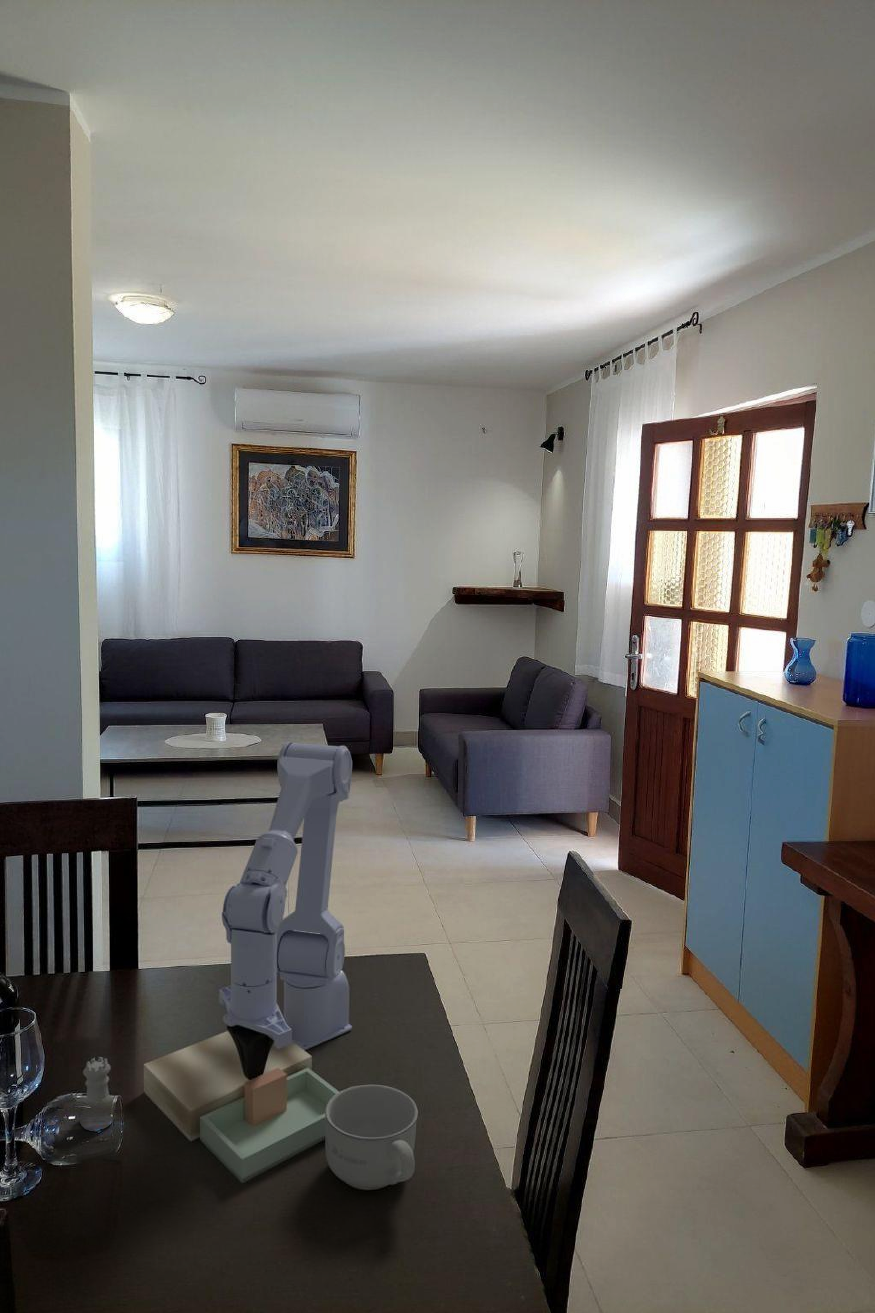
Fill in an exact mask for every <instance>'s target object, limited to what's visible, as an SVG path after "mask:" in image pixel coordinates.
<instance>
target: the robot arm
mask: <svg viewBox="0 0 875 1313" xmlns="http://www.w3.org/2000/svg"><path fill="white" fill-rule="evenodd" d="M276 766H277V767H276V769H277V776H278V783H279V786H280V790H279V795H278V798H277V802H276V805H275V808H274V812H273V816H272V819H271V821H270V825H269V829H268V831H267V832H264V833H262V834H260V835H259V836H258V837H257V839H256V840H255V844H254V846H253V847H252V848H253V849H252V850H251V853H250V855H249V858H248V860H247V863H246V866H245V868H244V870H243V873H242V875H241V878H240V880H239V882H238V883H236V885H232V886H231V887H230V888H229V889H228V890H227V892H226V894H225V897H224V901H223V906H222V912H221V921H222V926H224V928H225V932H226V933H225V934H226V938H225V939H226V941H227V943H229V944H230V985H228V986H225V987H223V988H220V989H218V1003H219V1004H220V1005H221V1006H225V1007H226V1010H227V1013H226V1014H224V1015H223V1017H222V1018H223V1019H222V1020H223V1023H225V1025H226V1031H228V1032H229V1033H230V1035H231V1037H232V1039H233V1041H234V1043H235V1045H236V1048H237V1051H238V1054H239V1057H240V1061H241V1065H242V1069H243V1073H244V1076H245V1077H246V1078H247V1079H248V1080H252V1079H254V1078H256V1077H258V1076H261V1075H263V1073H264V1070H265V1066H266V1062H267V1058H268V1055H269V1052H270V1049H271V1047H272V1045H273V1043H274V1046H275V1047H276V1048H277V1049H280V1048H282V1047H285V1046H287V1045H289V1044H292V1042H294V1043H295V1044H296V1045H298V1046H299V1047H300V1048H302V1049H303V1050H304V1051H307V1050H309V1049H311V1048H313V1047H315V1046H318V1045H320V1044H322V1043H325V1042H327V1041H330V1040H331V1039H333V1038H336V1037H338V1036H340V1035H342V1034H345V1033H347V1032H349V1031H351V1030H352V1029H353V1026H352V1025H351V1024H350V1022H349V1021H350V1020H349V1019H350V1014H349V1013H350V985H349V981H348V978H347V975H346V974H345V972H344V971H343V970H342V968H343V966H344V961H345V956H346V945H345V929H344V925H343V924H342V923H341V922H340V921H339V920H338V919H337V918H335V916H334V915H333V914H332V913H331V912H330V911H329V898H330V891H331V890H330V889H331V888H330V887H331V877H332V866H333V855H334V845H335V836H336V835H335V834H336V824H337V815H338V808H339V803H340V802H344V801H345V800H348V799H349V795H350V791H351V782H352V772H353V771H352V770H353V760H352V755H351V751H350V750H349V749H348V747H347V746H345V745H339V746H338V745H327V744H326V745H325V744H314V743H313V744H312V743H311V744H310V743H299V742H294V741H287V742H286V743H285V744H284V745H283V746H282V747H281V748H280V750H279V753H278V758H277V765H276ZM302 823H303V827H302V835H301V848H300V849H301V850H300V856H299V858H300V859H299V867H298V876H297V889H296V896H295V897H296V898H295V899H296V900H295V907H294V908H295V909H294V911H293V912H291V913H289V914H288V915H286V916H285V917H284V915H285V911H286V910H285V908H286V899H287V897H288V890H287V888H286V886H287V884H288V880H289V877H290V875H291V872H292V870H293V867H294V865H295V861H296V858H297V855H298V853H299V852H298V851H299V850H298V846H297V844H296V842H295V841H294V840H295V838H296V836H297V834H298V831H300V830H299V829H300V828H301V825H302ZM278 973H279V980H281V981H283V1013H282V1012H281V1009H280V1006H279V1004H278V1003H277V1001H278V1000H277V993H278V992H277V991H278V990H277V988H278V987H277V986H278V985H277V984H278V983H277V982H278V980H277V978H278V976H277V974H278Z"/></svg>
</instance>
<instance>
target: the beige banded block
mask: <svg viewBox="0 0 875 1313" xmlns="http://www.w3.org/2000/svg"><path fill="white" fill-rule="evenodd" d="M276 1068H279V1069H281V1070H282V1071H283V1072H284V1073H286V1074H287V1077H289V1076H291V1075H293V1074H295V1073H297V1072H299V1071H302V1070H304V1069H306V1068H309V1069H310V1070H312V1071H313V1056H312V1055H311V1054H309V1052H307V1050H303V1049H302V1048H300V1047H299V1046H298V1045H296V1044H295V1043H294V1042H292V1044H289V1045H287V1046H285V1047H282V1048H280V1049H277V1048H276V1047H275V1046H274V1043H273V1045H272V1047H271V1049H270V1052H269V1055H268V1058H267V1062H266V1066H265V1070H264V1073H263V1074H265V1073H267V1072H269V1071H272V1070H274V1069H276ZM247 1081H249V1080H248V1079H247V1078H246V1077H245V1076H244V1073H243V1069H242V1065H241V1061H240V1057H239V1054H238V1051H237V1048H236V1045H235V1043H234V1041H233V1039H232V1037H231V1035H230V1033H229V1032H228V1030H226V1031H224V1032H221V1033H219V1034H217V1035H214V1036H211V1037H209V1038H206V1039H204V1040H202V1041H199V1042H196V1043H194V1044H191V1045H189V1046H185V1047H184V1048H181V1049H179V1050H176V1051H173V1052H171V1053H168V1054H166V1055H164V1056H161V1057H158V1058H156V1059H153V1060H150V1061H149V1062H145V1063H144V1064H143V1093H144V1094H145V1095H146V1096H147V1097H148V1098H149V1099H150V1101H152V1102H153V1104H154V1105H156V1106H157V1107H158V1109H159V1110H161V1112H162V1113H163V1114H164V1115H165V1116H166V1117H167V1118H168V1119H169V1120H170V1121H171V1122H172V1123H173V1124H174V1126H176V1127H177V1128H178V1130H179V1131H180V1132H181V1133H182V1135H184V1136H185V1137H186V1138H187V1139H188V1140H189V1142H193V1141H194V1140H197V1139H198V1138H199V1139H200V1117H201V1116H204V1115H206V1114H208V1113H210V1112H212V1111H214V1110H217V1109H219V1108H221V1107H223V1106H225V1105H228V1104H230V1103H232V1102H234V1101H236V1100H238V1099H241V1098H243V1097H245V1082H247Z"/></svg>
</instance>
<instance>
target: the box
mask: <svg viewBox="0 0 875 1313" xmlns="http://www.w3.org/2000/svg"><path fill="white" fill-rule="evenodd" d="M339 1092H340V1091H339V1090H338V1089H336V1088H335V1087H334V1086H332V1085H331V1084H330V1083H329V1082H328V1081H326V1080H325V1079H323V1078H322V1077H321V1076H319V1075H318V1074H317V1073H315V1072H314V1071H313V1069H312V1070H310V1069H309V1068H306V1069H304V1070H302V1071H299V1072H297V1073H295V1074H293V1075H291V1076H289V1077H287V1111H285V1112H283V1113H281V1114H279V1115H277V1116H274V1117H272V1118H270V1119H268V1120H266V1121H264V1122H262V1123H260V1124H258V1125H256V1126H254V1127H252V1126H251V1125H250V1124H249V1123H248V1122H247V1121H246V1120H245V1097H243V1098H241V1099H238V1100H236V1101H234V1102H232V1103H230V1104H228V1105H225V1106H223V1107H221V1108H219V1109H217V1110H214V1111H212V1112H210V1113H208V1114H206V1115H204V1116H201V1117H200V1137H199V1140H200V1141H201V1142H202V1143H203V1145H204V1146H205V1147H206V1148H207V1149H208V1150H209V1151H210V1152H211V1153H212V1154H213V1155H214V1156H215V1157H216V1158H217V1159H218V1161H220V1162H221V1163H222V1165H224V1167H226V1168H227V1170H228V1171H229V1172H230V1173H231V1174H233V1176H234V1177H236V1179H237V1180H238V1181H239V1182H240V1183H241V1184H244V1183H246V1182H247V1181H249V1180H251V1179H253V1178H255V1177H257V1176H259V1175H261V1174H263V1173H265V1172H267V1171H268V1170H270V1169H272V1168H274V1167H276V1166H278V1165H280V1164H282V1163H283V1162H284V1161H288V1160H289V1159H291V1158H292V1157H294V1156H295V1157H296V1156H297V1155H298V1154H300V1153H302V1152H305V1151H306V1150H308V1149H310V1148H311V1147H313V1146H315V1145H317V1144H318V1143H321V1142H322V1141H325V1131H326V1116H325V1110H326V1106H327V1104H328V1102H329V1101H330V1099H331V1098H332V1097H333V1096H334V1095H336V1094H337V1093H339Z"/></svg>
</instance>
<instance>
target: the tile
mask: <svg viewBox="0 0 875 1313" xmlns="http://www.w3.org/2000/svg"><path fill="white" fill-rule="evenodd" d="M285 1111H287V1074H286V1073H284V1072H283V1071H282V1070H281V1069H279V1068H276V1069H274V1070H272V1071H269V1072H267V1073H265V1074H263V1075H261V1076H258V1077H256V1078H254V1079H252V1080H249V1081H247V1082H245V1120H246V1121H247V1122H248V1123H249V1124H250V1125H251V1126H252V1127H254V1126H256V1125H258V1124H260V1123H262V1122H264V1121H266V1120H268V1119H270V1118H272V1117H274V1116H277V1115H279V1114H281V1113H283V1112H285Z"/></svg>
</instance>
